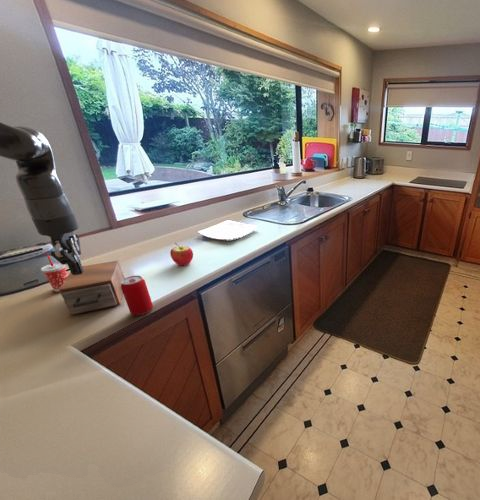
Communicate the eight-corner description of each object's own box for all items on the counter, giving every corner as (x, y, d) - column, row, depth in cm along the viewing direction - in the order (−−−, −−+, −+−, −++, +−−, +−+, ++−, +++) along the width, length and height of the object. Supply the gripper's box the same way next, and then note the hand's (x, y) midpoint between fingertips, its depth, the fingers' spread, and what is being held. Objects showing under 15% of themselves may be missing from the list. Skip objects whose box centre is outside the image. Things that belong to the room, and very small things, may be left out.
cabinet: (120, 304, 95) (111, 280, 91) (71, 315, 89) (59, 289, 85) (126, 282, 107) (118, 260, 103) (83, 290, 101) (73, 267, 97)
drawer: (114, 311, 90) (106, 291, 87) (67, 322, 85) (57, 301, 82) (122, 284, 105) (116, 265, 101) (82, 291, 99) (74, 272, 96)
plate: (228, 223, 170) (227, 219, 169) (261, 229, 163) (261, 225, 161) (194, 236, 149) (193, 232, 148) (231, 245, 142) (230, 240, 141)
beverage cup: (55, 285, 104) (39, 251, 98) (76, 282, 106) (62, 249, 100) (47, 294, 99) (30, 258, 93) (70, 290, 101) (54, 256, 95)
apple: (176, 259, 125) (171, 239, 121) (197, 258, 127) (192, 238, 123) (170, 268, 118) (164, 247, 114) (192, 267, 120) (187, 245, 116)
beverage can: (148, 302, 96) (139, 272, 91) (156, 309, 93) (147, 278, 88) (127, 311, 92) (116, 280, 87) (135, 319, 89) (123, 287, 84)
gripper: (42, 208, 74) (68, 265, 81) (19, 223, 63) (51, 288, 71) (79, 205, 77) (101, 260, 84) (63, 219, 67) (89, 281, 74)
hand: (78, 273), depth 77 cm, fingers closed
